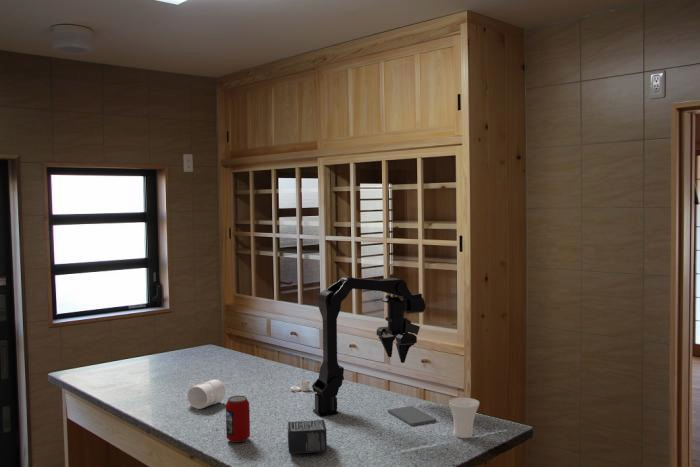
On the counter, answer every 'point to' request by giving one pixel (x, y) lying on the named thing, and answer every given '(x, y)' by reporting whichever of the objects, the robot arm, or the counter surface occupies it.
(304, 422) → the small box
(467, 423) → the cup
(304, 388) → the teacup and saucer
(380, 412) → the counter surface
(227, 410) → the beverage can
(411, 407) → the mat
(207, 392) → the white cylinder
